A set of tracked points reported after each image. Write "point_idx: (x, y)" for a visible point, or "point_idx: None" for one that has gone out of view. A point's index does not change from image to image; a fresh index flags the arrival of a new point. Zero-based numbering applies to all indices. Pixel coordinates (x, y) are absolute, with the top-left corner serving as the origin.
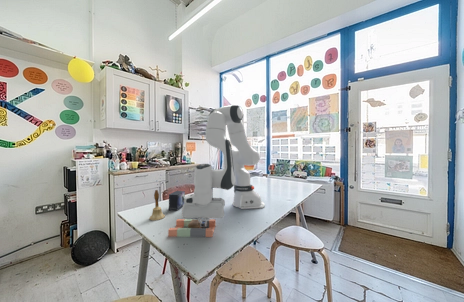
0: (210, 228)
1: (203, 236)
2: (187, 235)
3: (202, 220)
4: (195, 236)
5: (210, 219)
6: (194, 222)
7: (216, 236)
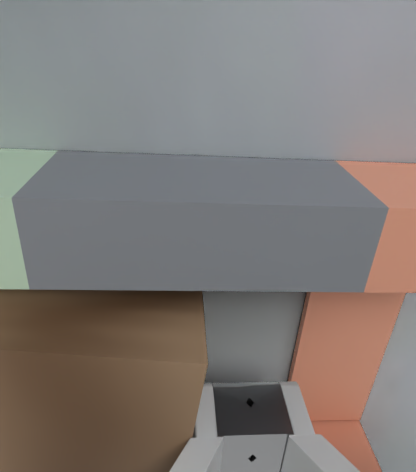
0: None
1: None
2: None
3: (202, 273)
4: None
5: (405, 219)
6: (67, 463)
7: (391, 435)
